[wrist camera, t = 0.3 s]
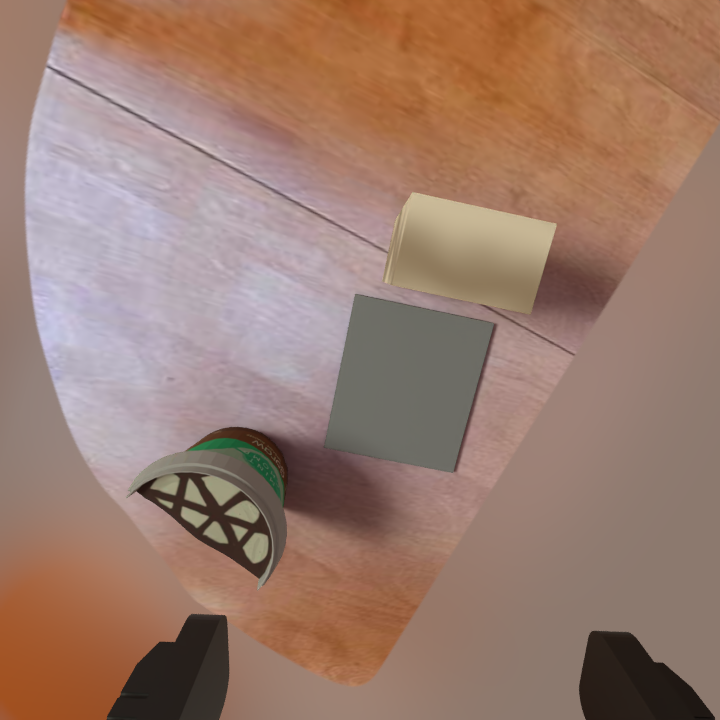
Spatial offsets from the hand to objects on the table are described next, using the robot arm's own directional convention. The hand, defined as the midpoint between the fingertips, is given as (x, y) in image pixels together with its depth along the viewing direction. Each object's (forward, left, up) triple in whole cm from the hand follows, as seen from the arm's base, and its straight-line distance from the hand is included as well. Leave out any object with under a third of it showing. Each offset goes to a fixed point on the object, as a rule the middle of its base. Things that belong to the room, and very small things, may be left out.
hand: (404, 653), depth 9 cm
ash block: (-10, +3, -28) cm, 30 cm away
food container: (+10, -9, -28) cm, 31 cm away
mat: (+1, +3, -28) cm, 28 cm away
